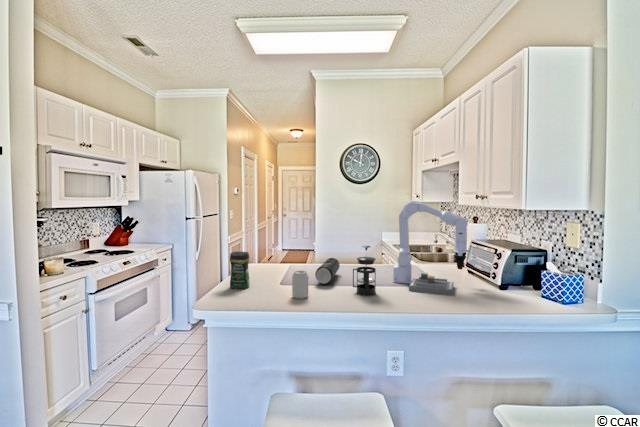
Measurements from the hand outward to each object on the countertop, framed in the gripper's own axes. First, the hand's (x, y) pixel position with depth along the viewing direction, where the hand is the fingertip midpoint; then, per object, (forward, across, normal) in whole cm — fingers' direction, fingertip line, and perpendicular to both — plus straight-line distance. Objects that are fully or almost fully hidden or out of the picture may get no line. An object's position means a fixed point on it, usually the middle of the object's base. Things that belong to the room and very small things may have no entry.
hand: (460, 267), depth 180 cm
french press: (+10, -29, +42) cm, 52 cm away
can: (+10, -47, +68) cm, 83 cm away
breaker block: (+10, -9, +13) cm, 19 cm away
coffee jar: (+10, -44, +104) cm, 113 cm away
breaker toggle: (+8, -12, +13) cm, 19 cm away
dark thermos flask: (+10, -12, +68) cm, 70 cm away
